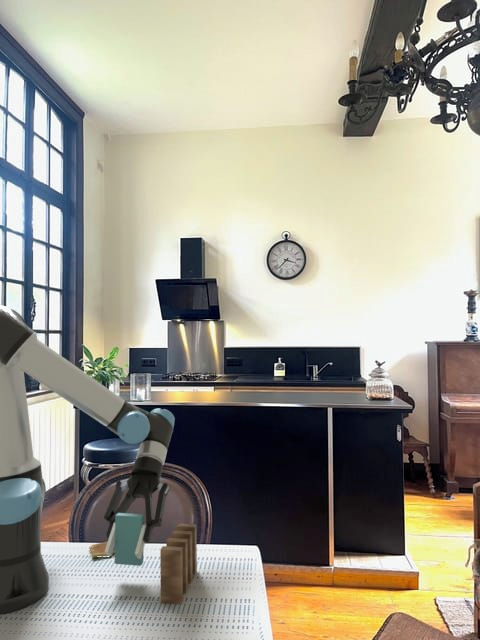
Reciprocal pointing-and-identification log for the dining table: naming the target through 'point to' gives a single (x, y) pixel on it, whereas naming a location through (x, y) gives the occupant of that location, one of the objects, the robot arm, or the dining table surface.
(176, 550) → the domino
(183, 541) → the domino
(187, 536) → the domino
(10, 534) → the robot arm
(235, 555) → the dining table surface
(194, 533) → the domino
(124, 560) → the domino
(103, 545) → the shard
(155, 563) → the dining table surface
